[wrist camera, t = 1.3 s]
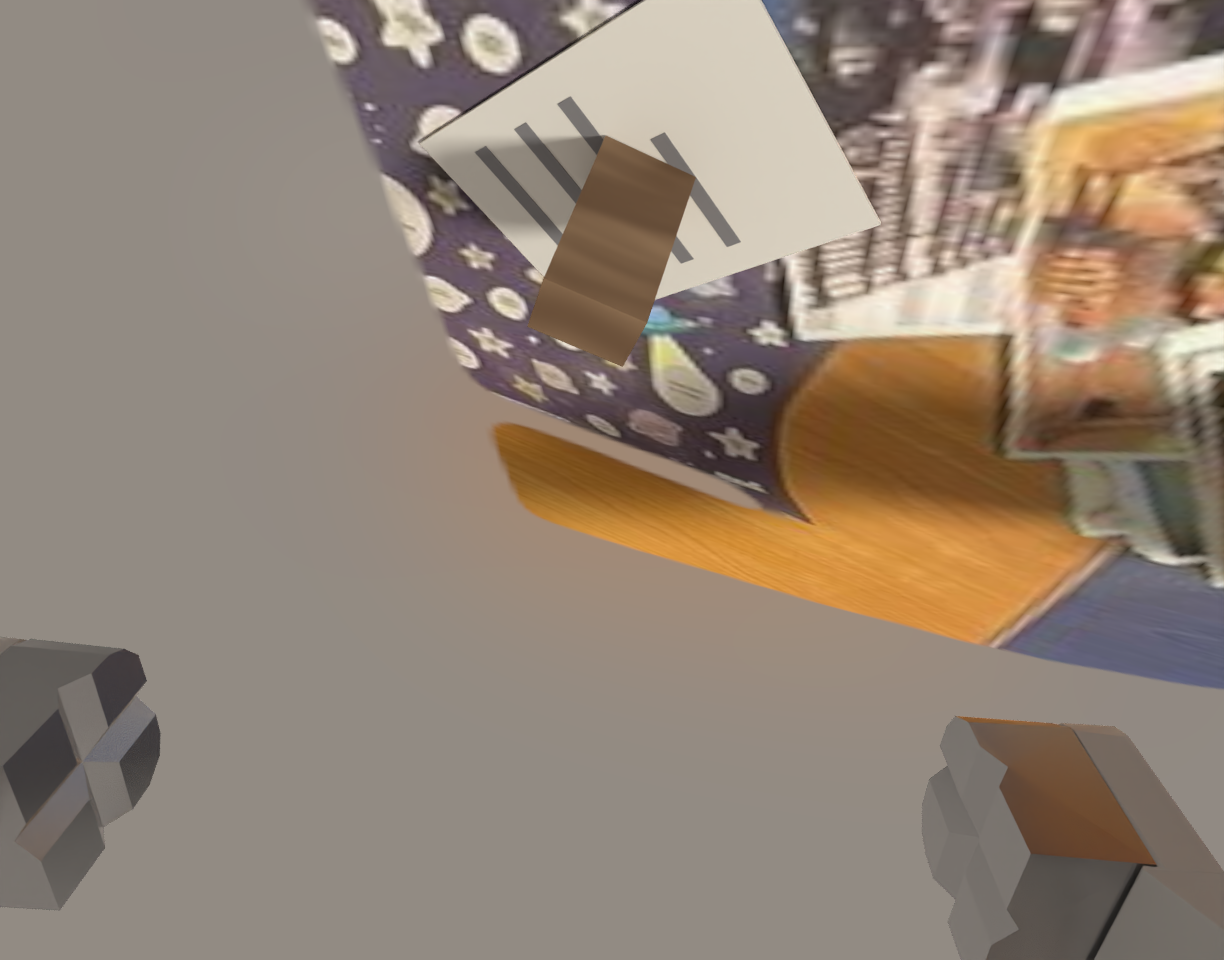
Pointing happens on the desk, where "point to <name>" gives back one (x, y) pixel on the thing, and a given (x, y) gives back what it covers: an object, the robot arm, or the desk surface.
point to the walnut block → (613, 253)
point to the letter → (666, 139)
